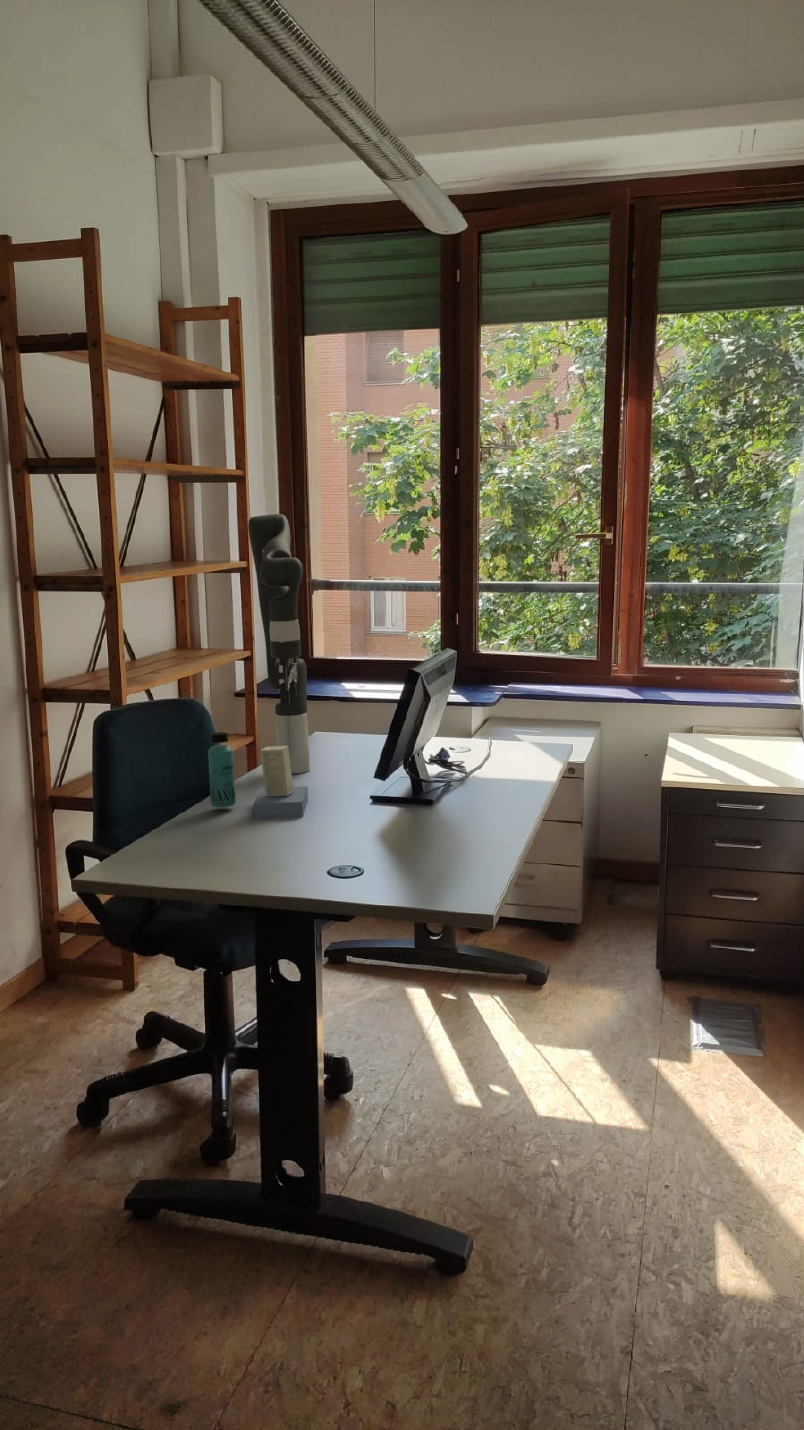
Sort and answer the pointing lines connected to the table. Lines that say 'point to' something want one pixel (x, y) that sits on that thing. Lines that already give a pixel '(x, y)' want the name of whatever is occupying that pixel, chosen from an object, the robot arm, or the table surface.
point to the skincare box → (276, 770)
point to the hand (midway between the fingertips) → (288, 701)
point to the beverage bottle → (221, 772)
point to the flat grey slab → (281, 804)
